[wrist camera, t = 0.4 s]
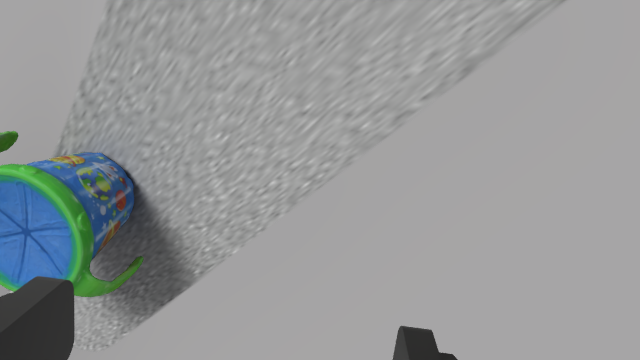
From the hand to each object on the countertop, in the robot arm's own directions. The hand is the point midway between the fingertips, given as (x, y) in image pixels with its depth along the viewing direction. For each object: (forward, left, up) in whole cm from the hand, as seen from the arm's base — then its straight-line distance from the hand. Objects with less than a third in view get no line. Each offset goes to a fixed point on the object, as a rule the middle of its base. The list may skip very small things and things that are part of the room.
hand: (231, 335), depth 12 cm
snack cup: (-1, -25, -29) cm, 39 cm away
